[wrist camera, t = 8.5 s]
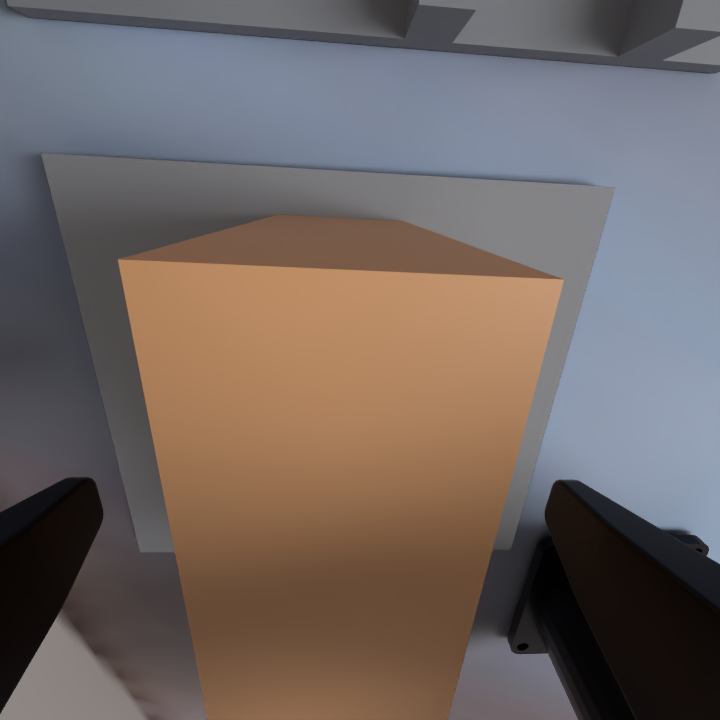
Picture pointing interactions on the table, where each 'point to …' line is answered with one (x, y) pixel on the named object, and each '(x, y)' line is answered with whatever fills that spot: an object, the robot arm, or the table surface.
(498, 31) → the rack
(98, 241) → the mat
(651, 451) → the table surface
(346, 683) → the light brown flat block
